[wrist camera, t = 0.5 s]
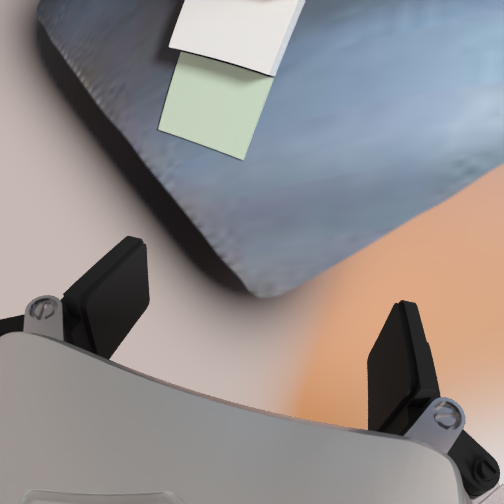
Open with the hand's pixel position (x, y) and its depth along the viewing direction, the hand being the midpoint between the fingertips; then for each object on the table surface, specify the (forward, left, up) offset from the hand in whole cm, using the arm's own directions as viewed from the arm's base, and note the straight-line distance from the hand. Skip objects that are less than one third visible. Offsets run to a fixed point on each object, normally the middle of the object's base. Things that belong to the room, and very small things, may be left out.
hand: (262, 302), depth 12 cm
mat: (-1, -13, -29) cm, 32 cm away
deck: (-15, -13, -29) cm, 35 cm away
